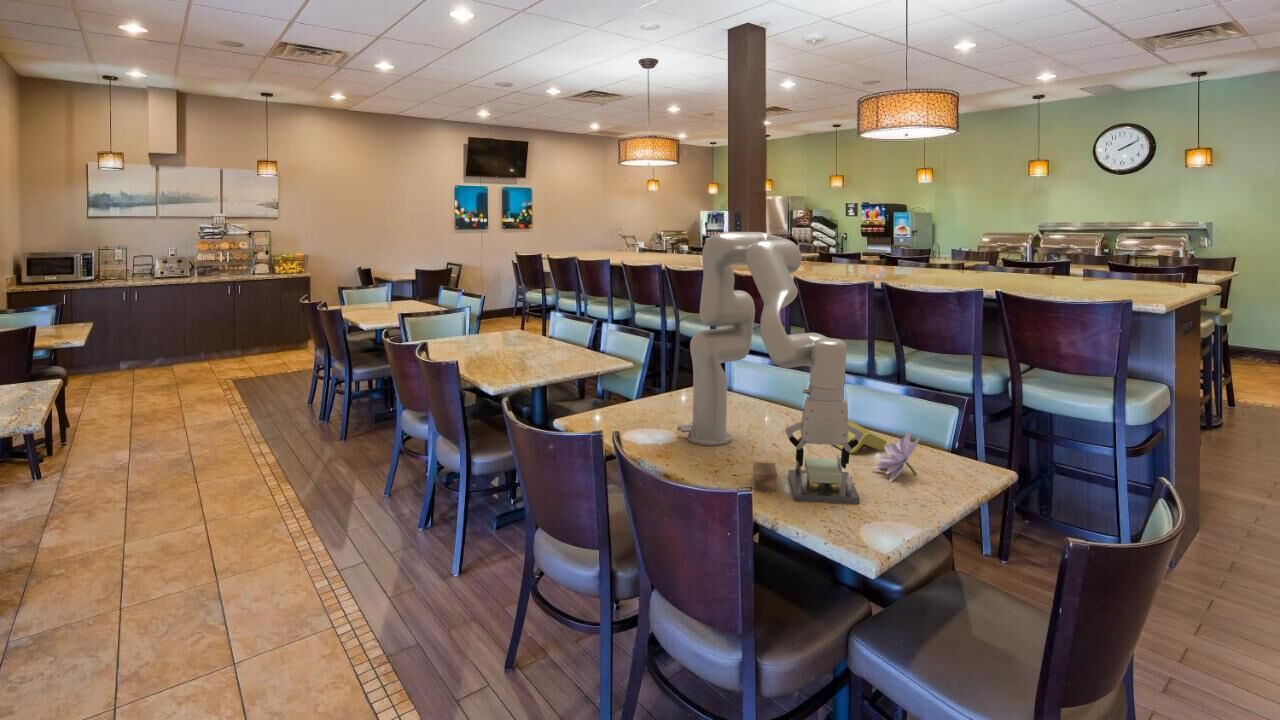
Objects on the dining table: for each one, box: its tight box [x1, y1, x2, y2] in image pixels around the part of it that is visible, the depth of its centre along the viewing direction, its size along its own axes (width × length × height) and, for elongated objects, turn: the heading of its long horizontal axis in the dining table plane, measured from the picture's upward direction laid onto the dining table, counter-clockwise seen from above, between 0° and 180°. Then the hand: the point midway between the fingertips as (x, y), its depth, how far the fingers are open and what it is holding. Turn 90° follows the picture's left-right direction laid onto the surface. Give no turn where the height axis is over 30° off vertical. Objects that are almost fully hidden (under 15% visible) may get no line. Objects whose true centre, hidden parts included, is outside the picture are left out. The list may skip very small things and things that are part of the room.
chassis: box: [787, 454, 861, 505], centre depth 158 cm, size 14×16×6 cm
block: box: [752, 462, 778, 493], centre depth 161 cm, size 5×8×4 cm, turn 173°
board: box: [803, 457, 842, 484], centre depth 157 cm, size 7×11×2 cm, turn 172°
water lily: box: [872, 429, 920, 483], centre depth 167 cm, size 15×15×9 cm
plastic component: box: [834, 419, 888, 455], centre depth 192 cm, size 20×7×10 cm
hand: (821, 465), depth 158 cm, fingers open, 9 cm apart
